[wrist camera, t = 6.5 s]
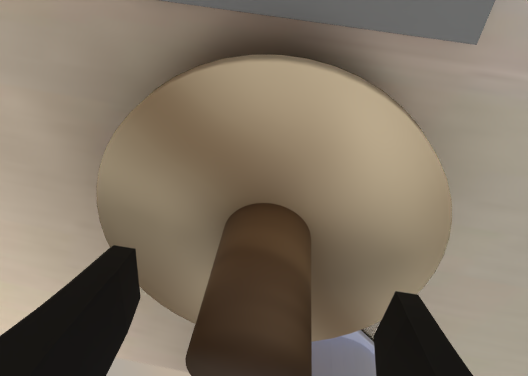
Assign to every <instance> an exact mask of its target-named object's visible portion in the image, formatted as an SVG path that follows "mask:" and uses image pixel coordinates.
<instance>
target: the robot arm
mask: <svg viewBox="0 0 528 376" xmlns="http://www.w3.org/2000/svg"><path fill="white" fill-rule="evenodd" d="M139 300H140V289H139V279H138V269H137V259H136V249H134V248H128V247H122V246H116V245H113V246H112V247H110V248H109V249H108V250H107V251H106V252H105V253H103V254H102V255H101V256H100V257H99V258H98V259H96V260H95V261H94V262H93V263H92V264H91V265H89V266H88V267H87V268H86V269H85V270H84V271H82V272H81V273H80V274H79V275H78V276H77V277H75V278H74V279H73V280H72V281H71V282H69V283H68V284H67V285H66V286H65V287H63V288H62V289H61V290H60V291H58V292H57V293H56V294H55V295H53V296H52V297H51V298H50V299H48V300H47V301H46V302H45V303H44V304H42V305H41V306H40V307H38V308H37V309H36V310H34V311H33V312H32V313H30V314H29V315H28V316H26V317H25V318H24V319H22V320H21V321H20V322H18V323H17V324H16V325H14V326H13V327H12V328H10V329H9V330H8V331H6V332H5V333H4V334H2V335H1V336H0V376H106V374H107V373H108V371H109V369H110V367H111V365H112V363H113V361H114V359H115V357H116V355H117V353H118V351H119V349H120V347H121V345H122V343H123V341H124V339H125V337H126V335H127V333H128V330H129V327H130V325H131V322H132V319H133V317H134V314H135V311H136V308H137V306H138V303H139ZM312 376H473V375H472V374H471V372H470V371H469V369H468V368H467V366H466V365H465V364H464V362H463V361H462V359H461V358H460V357H459V355H458V354H457V352H456V351H455V349H454V348H453V346H452V345H451V343H450V342H449V340H448V339H447V338H446V336H445V335H444V333H443V332H442V330H441V329H440V327H439V326H438V324H437V323H436V321H435V319H434V318H433V316H432V315H431V313H430V312H429V310H428V309H427V307H426V306H425V304H424V303H423V301H422V300H421V299H420V297H419V296H418V295H417V294H411V293H405V292H399V291H395V293H394V295H393V297H392V299H391V301H390V304H389V306H388V308H387V310H386V312H385V314H384V316H383V318H382V320H381V322H380V324H379V326H378V328H377V331H376V333H375V335H374V342H373V341H372V340H371V339H370V338H369V337H368V336H367V335H366V334H364V333H363V332H362V331H361V330H359V331H356V332H353V333H350V334H347V335H343V336H339V337H335V338H331V339H325V340H320V341H313V342H312Z"/></svg>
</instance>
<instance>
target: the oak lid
mask: <svg viewBox="0 0 528 376" xmlns="http://www.w3.org/2000/svg"><path fill="white" fill-rule="evenodd" d="M96 187H97V208H98V213H99V219H100V223H101V226H102V229H103V232H104V235H105V238H106V240H107V242H108V244H109V246H110V247H112V246H113V245H116V246H122V247H128V248H134V249H136V259H137V269H138V279H139V286H140V287H141V288H142V289H143V290H144V291H145V292H146V293H147V294H148V295H150V296H151V297H152V298H153V299H155V300H156V301H157V302H159V303H160V304H161V305H163V306H164V307H166V308H167V309H169V310H171V311H172V312H174V313H175V314H177V315H179V316H181V317H183V318H185V319H187V320H189V321H191V322H193V323H195V328H194V331H193V334H192V338H191V341H190V344H189V348H188V351H187V355H186V366H187V369H188V371H189V373H190V375H191V376H312V342H313V341H320V340H325V339H331V338H335V337H339V336H343V335H347V334H350V333H353V332H356V331H359V330H361V329H364V328H367V327H369V326H371V325H373V324H375V323H377V322H379V321H381V320H382V318H383V316H384V314H385V312H386V310H387V308H388V306H389V304H390V301H391V299H392V297H393V295H394V293H395V291H399V292H405V293H411V294H418V292H419V291H420V290H421V289H422V288H423V287H424V286H425V285H426V284H427V282H428V281H429V279H430V278H431V277H432V275H433V274H434V273H435V271H436V269H437V267H438V265H439V263H440V261H441V259H442V258H443V255H444V252H445V249H446V246H447V243H448V240H449V236H450V229H451V223H452V204H451V196H450V191H449V186H448V182H447V178H446V176H445V173H444V171H443V168H442V166H441V163H440V161H439V159H438V157H437V155H436V153H435V152H434V150H433V148H432V147H431V145H430V143H429V142H428V140H427V139H426V137H425V135H424V134H423V132H422V131H421V129H420V127H419V126H418V124H417V123H416V122H415V121H414V120H413V119H412V118H411V117H410V115H409V114H408V113H407V112H406V111H405V110H404V109H403V107H401V106H400V105H399V104H398V103H397V102H395V101H394V100H393V99H392V98H391V97H389V96H388V95H387V94H386V93H385V92H384V91H382V90H380V89H379V88H377V87H376V86H374V85H372V84H371V83H369V82H367V81H366V80H364V79H363V78H361V77H359V76H357V75H354V74H352V73H350V72H347V71H345V70H343V69H340V68H338V67H336V66H333V65H329V64H326V63H322V62H318V61H315V60H311V59H307V58H300V57H293V56H286V55H245V56H238V57H231V58H224V59H220V60H217V61H213V62H210V63H206V64H203V65H199V66H197V67H195V68H192V69H190V70H188V71H186V72H184V73H181V74H179V75H177V76H175V77H174V78H172V79H170V80H169V81H167V82H166V83H164V84H163V85H161V86H160V87H158V88H157V89H155V90H154V91H153V92H152V93H151V94H150V95H149V96H148V97H147V98H145V99H144V100H143V101H142V102H141V103H140V104H139V105H138V106H137V107H136V108H135V109H134V110H133V111H132V112H131V113H130V114H128V116H127V117H126V118H125V120H124V121H123V122H122V123H121V125H120V126H119V127H118V128H117V130H116V131H115V132H114V134H113V136H112V138H111V140H110V142H109V144H108V145H107V147H106V149H105V152H104V155H103V158H102V161H101V164H100V167H99V173H98V179H97V186H96Z"/></svg>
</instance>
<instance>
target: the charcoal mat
mask: <svg viewBox="0 0 528 376" xmlns="http://www.w3.org/2000/svg"><path fill="white" fill-rule="evenodd" d="M161 1H168V2H175V3H182V4H190V5H197V6H204V7H211V8H218V9H225V10H232V11H239V12H247V13H254V14H261V15H268V16H275V17H282V18H289V19H296V20H304V21H311V22H318V23H325V24H332V25H339V26H346V27H353V28H361V29H368V30H375V31H382V32H389V33H396V34H403V35H410V36H418V37H425V38H432V39H439V40H446V41H453V42H460V43H467V44H475V45H477V43H478V40H479V38H480V35H481V33H482V31H483V28H484V26H485V23H486V21H487V19H488V16H489V14H490V11H491V9H492V7H493V4H494V2H495V0H161Z"/></svg>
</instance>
